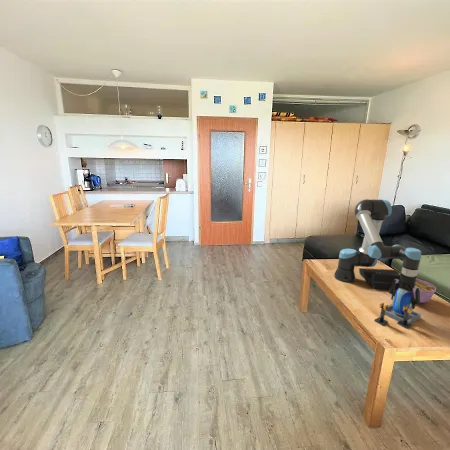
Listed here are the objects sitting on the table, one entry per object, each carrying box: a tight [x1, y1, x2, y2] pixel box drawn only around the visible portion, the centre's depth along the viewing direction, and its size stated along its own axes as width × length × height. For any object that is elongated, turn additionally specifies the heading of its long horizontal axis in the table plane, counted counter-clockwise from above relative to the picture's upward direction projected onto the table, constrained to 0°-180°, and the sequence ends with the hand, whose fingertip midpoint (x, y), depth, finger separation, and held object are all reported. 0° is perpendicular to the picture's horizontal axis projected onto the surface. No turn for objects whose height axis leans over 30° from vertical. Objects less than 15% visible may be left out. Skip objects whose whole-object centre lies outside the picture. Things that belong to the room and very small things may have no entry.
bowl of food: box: [413, 278, 437, 304], centre depth 171 cm, size 20×20×12 cm
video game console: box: [358, 267, 401, 291], centre depth 196 cm, size 28×25×10 cm
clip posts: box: [374, 302, 413, 330], centre depth 145 cm, size 13×14×11 cm
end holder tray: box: [384, 303, 422, 324], centre depth 154 cm, size 15×15×2 cm
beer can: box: [393, 288, 412, 316], centre depth 152 cm, size 8×8×16 cm
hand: (401, 309), depth 154 cm, fingers open, 8 cm apart
